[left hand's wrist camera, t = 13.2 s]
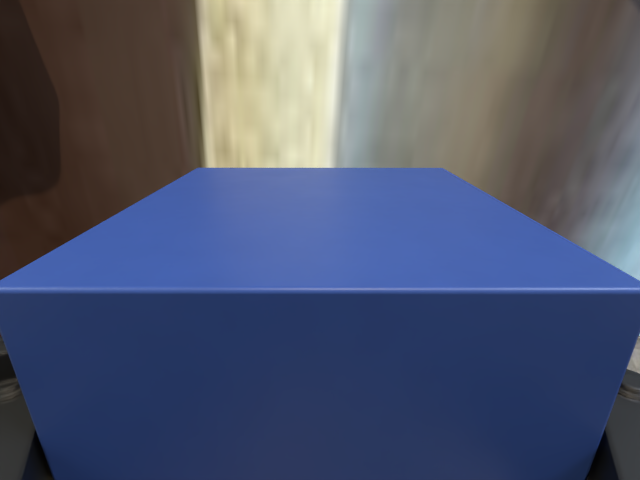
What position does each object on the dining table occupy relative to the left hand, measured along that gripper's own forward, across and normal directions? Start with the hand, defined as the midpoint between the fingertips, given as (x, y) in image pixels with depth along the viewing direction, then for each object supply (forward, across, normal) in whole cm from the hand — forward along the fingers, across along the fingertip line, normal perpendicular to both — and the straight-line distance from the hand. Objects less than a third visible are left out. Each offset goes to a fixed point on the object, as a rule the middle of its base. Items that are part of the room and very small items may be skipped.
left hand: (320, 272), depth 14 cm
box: (0, 0, -11) cm, 11 cm away
